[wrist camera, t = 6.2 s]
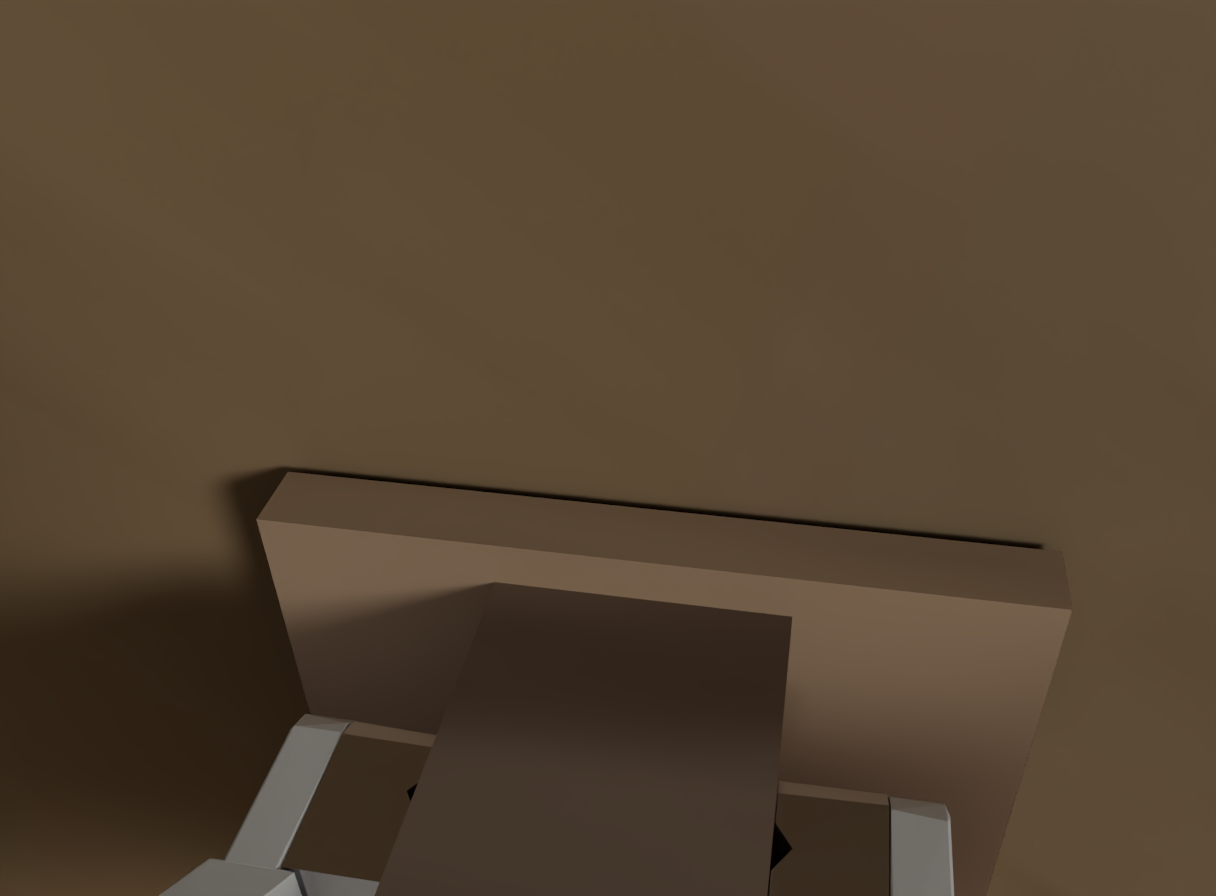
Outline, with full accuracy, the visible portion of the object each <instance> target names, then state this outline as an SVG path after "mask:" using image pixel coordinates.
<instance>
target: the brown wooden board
mask: <svg viewBox="0 0 1216 896" xmlns="http://www.w3.org/2000/svg"><path fill="white" fill-rule="evenodd" d="M256 520H257V523H258V527H259V531H260V534H261V538H262V542H263V545H264V549H265V552H266V556H267V560H268V563H269V567H270V571H271V574H272V578H273V581H274V585H275V589H276V592H277V596H278V599H279V603H280V607H281V610H282V614H283V618H284V621H285V625H286V628H287V632H288V636H289V639H290V643H291V646H292V650H293V654H294V657H295V661H296V665H297V668H298V672H299V675H300V679H301V683H302V686H303V690H304V694H305V697H306V701H307V704H308V708H309V712H310V715H317V716H324V717H331V718H338V719H345V720H352V721H357V722H362V723H369V724H375V725H381V726H388V727H394V728H400V729H407V730H413V731H419V732H426V733H432V734H437V735H436V737H435V740H434V743H433V745H432V748H431V750H430V753H429V756H428V758H427V761H426V763H425V766H424V768H423V771H422V774H421V776H420V779H419V781H418V784H417V787H416V789H415V792H414V794H413V797H412V800H411V802H410V805H409V807H408V810H407V813H406V815H405V818H404V820H403V823H402V826H401V828H400V831H399V833H398V836H397V839H396V841H395V844H394V846H393V849H392V852H391V854H390V857H389V859H388V862H387V865H386V867H385V870H384V872H383V875H382V877H381V880H380V883H379V885H378V888H377V890H376V893H375V896H767V893H768V883H769V873H770V863H771V853H772V843H773V833H774V823H775V813H776V803H777V794H778V786H779V781H784V782H792V783H800V784H808V785H816V786H824V787H832V788H840V789H848V790H856V791H864V792H872V793H880V794H887V798H888V797H896V798H904V799H912V800H921V801H929V802H937V803H944V804H945V805H946V808H947V810H948V812H949V815H950V821H951V841H952V860H953V880H954V896H986V893H987V890H988V887H989V883H990V880H991V877H992V873H993V870H994V867H995V864H996V860H997V857H998V854H999V850H1000V847H1001V844H1002V840H1003V837H1004V834H1005V831H1006V827H1007V824H1008V821H1009V817H1010V814H1011V811H1012V807H1013V804H1014V801H1015V798H1016V794H1017V791H1018V788H1019V784H1020V781H1021V778H1022V775H1023V771H1024V768H1025V765H1026V761H1027V758H1028V755H1029V751H1030V748H1031V745H1032V742H1033V738H1034V735H1035V732H1036V728H1037V725H1038V722H1039V718H1040V715H1041V712H1042V709H1043V705H1044V702H1045V699H1046V695H1047V692H1048V689H1049V685H1050V682H1051V679H1052V676H1053V672H1054V669H1055V666H1056V662H1057V659H1058V656H1059V653H1060V649H1061V646H1062V643H1063V639H1064V636H1065V633H1066V629H1067V626H1068V623H1069V620H1070V616H1071V613H1072V605H1071V599H1070V594H1069V588H1068V582H1067V577H1066V571H1065V565H1064V560H1063V554H1062V552H1061V551H1051V550H1042V549H1032V548H1022V547H1012V546H1003V545H993V544H983V543H974V542H964V541H954V540H945V539H935V538H925V537H916V536H906V535H896V534H887V533H877V532H867V531H858V530H848V529H838V528H828V527H819V526H809V525H799V524H790V523H780V522H770V521H761V520H751V519H741V518H732V517H722V516H712V515H703V514H693V513H683V512H674V511H664V510H654V509H644V508H635V507H625V506H615V505H606V504H596V503H586V502H577V501H567V500H557V499H548V498H538V497H528V496H519V495H509V494H499V493H490V492H480V491H470V490H460V489H451V488H441V487H431V486H422V485H412V484H402V483H393V482H383V481H373V480H364V479H354V478H344V477H335V476H325V475H315V474H305V473H296V472H287V474H286V475H285V477H284V478H283V480H282V481H281V483H280V484H279V486H278V487H277V489H276V490H275V492H274V493H273V495H272V496H271V498H270V499H269V501H268V503H267V504H266V506H265V507H264V509H263V510H262V512H261V513H260V515H259V516H258V518H257V519H256Z"/></svg>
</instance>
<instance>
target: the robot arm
mask: <svg viewBox="0 0 1216 896" xmlns="http://www.w3.org/2000/svg"><path fill="white" fill-rule="evenodd" d="M436 735H437V734H432V733H426V732H419V731H413V730H407V729H400V728H394V727H388V726H381V725H375V724H369V723H362V722H357V721H352V720H345V719H338V718H331V717H324V716H317V715H310V714H304V715H303V716H302V718H301V719H300V720H299V721H298V722H297V723H296V724H295V725H294V726H293V727H292V728H291V730H290V731H289V733H288V735H287V737H286V739H285V741H284V743H283V745H282V747H281V749H280V751H279V753H278V755H277V757H276V759H275V761H274V763H273V765H272V767H271V769H270V771H269V773H268V775H267V777H266V779H265V780H264V782H263V784H262V786H261V788H260V790H259V792H258V794H257V796H256V798H255V800H254V802H253V804H252V806H251V808H250V810H249V812H248V814H247V816H246V818H245V820H244V822H243V824H242V826H241V828H240V829H239V831H238V833H237V835H236V837H235V839H234V841H233V843H232V845H231V847H230V849H229V851H228V853H227V855H226V857H225V859H216V858H209V859H207V860H206V861H205V862H203V863H202V864H201V865H199V866H198V867H196V868H195V869H194V870H192V871H191V872H190V873H188V874H187V875H186V876H184V877H183V878H181V879H180V880H179V881H177V882H176V883H175V884H173V885H172V886H171V887H169V888H168V889H166V890H165V891H164V892H162V893H161V894H160V895H158V896H375V893H376V890H377V888H378V885H379V883H380V880H381V877H382V875H383V872H384V870H385V867H386V865H387V862H388V859H389V857H390V854H391V852H392V849H393V846H394V844H395V841H396V839H397V836H398V833H399V831H400V828H401V826H402V823H403V820H404V818H405V815H406V813H407V810H408V807H409V805H410V802H411V800H412V797H413V794H414V792H415V789H416V787H417V784H418V781H419V779H420V776H421V774H422V771H423V768H424V766H425V763H426V761H427V758H428V756H429V753H430V750H431V748H432V745H433V743H434V740H435V737H436ZM767 896H954V880H953V860H952V841H951V821H950V815H949V812H948V810H947V808H946V805H945V804H944V803H937V802H929V801H921V800H912V799H904V798H896V797H888V798H887V794H880V793H872V792H864V791H856V790H848V789H840V788H832V787H824V786H816V785H808V784H800V783H792V782H784V781H779V786H778V794H777V803H776V813H775V823H774V833H773V843H772V853H771V863H770V873H769V883H768V893H767Z"/></svg>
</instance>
